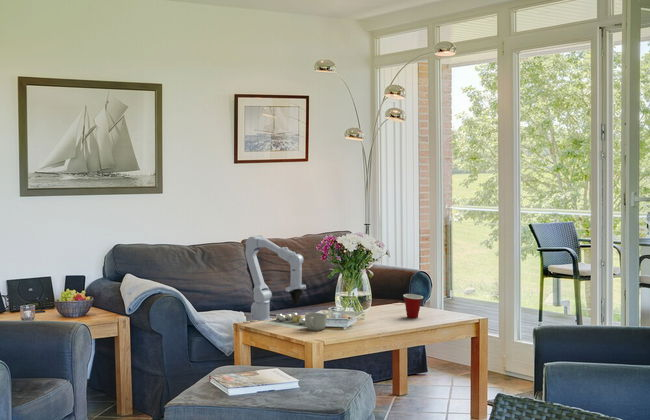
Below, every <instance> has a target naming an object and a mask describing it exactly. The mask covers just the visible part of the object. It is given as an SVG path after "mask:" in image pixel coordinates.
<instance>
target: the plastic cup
mask: <svg viewBox="0 0 650 420" xmlns="http://www.w3.org/2000/svg"><path fill="white" fill-rule="evenodd" d="M403 298H404V299H403V300H404V303H405V304H404V305H405V312H406V317H407V318H408V319H418V318H419V314H420V313H419V312H420V308H421V304H422V301H423V299H424V296H422V295H420V294H413V293H405V294H403Z"/></svg>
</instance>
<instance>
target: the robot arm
mask: <svg viewBox="0 0 650 420" xmlns="http://www.w3.org/2000/svg"><path fill="white" fill-rule="evenodd" d="M262 248H266V249H268V250H270V251H272V252H274V253H277V257H279V258H281V259H282V260H284V261H286V262H288V263H289V265H290V280H289V281H290V283H289V284H290V285H289V286H287V287H285V292H289V295H290V296H291V299H292V303H293V305H299V301H300V298H301V295H302V294H303V291H304V290H305V289H307V285H306V284H302V279H303V277H302V273H303V271H302V270H303V267H302V266H303V263H304V261H305V260H304V259H305V258H304V256H303V255H302V254H301V253H296V252H295V251H292V250H291V249H289V247H287V246H283V247H281V246H279V245H277V244H275V243H274V242H273V241H271V240H269V239H268V238H267V237H264V236H262V235H256V236H249V237H248V238H247V239H246V241H245V252H244V253H245V258H246V259H245V260H246V261H247V264H248V265H247V266H248V269H249V271H250V276H251V278H252V282H253V285H254V287H253V289H252V291H253V301H254V302H252V304H251V306H250V318H249V319H250V320H254V321H263V322H266V321H271V320H274V319H273V318H272V317H270V302H271V299H272V297H273V293H272V291H271V289H270V288H269V286H268V285H267V284H266V283H265V280H264V277H263V273H262V270H261V267H260V263H259V259H258V257H257V254H258V253H259V251H260V250H261V249H262ZM303 289H304V290H303Z"/></svg>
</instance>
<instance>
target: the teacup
mask: <svg viewBox="0 0 650 420" xmlns="http://www.w3.org/2000/svg"><path fill="white" fill-rule="evenodd" d="M304 315H305V316H304V319H305V326H306V327H305V328H307V330H309V331H316V332H317V331H322V330H323V329H325V328H326V324H327V317H328V314H325V313H322V312H305V313H304Z"/></svg>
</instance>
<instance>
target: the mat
mask: <svg viewBox="0 0 650 420" xmlns="http://www.w3.org/2000/svg"><path fill="white" fill-rule="evenodd" d="M262 324H266V325H272V326H277V327H284V328H290V329H295V330H296V329H297V330H300V329H303V328H307V327H306V326H305V325H299V323H293V322H292V319H291V320H290V321H286V320H285V322H279V320H276V319H271V320H267V321H263V322H262Z"/></svg>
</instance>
